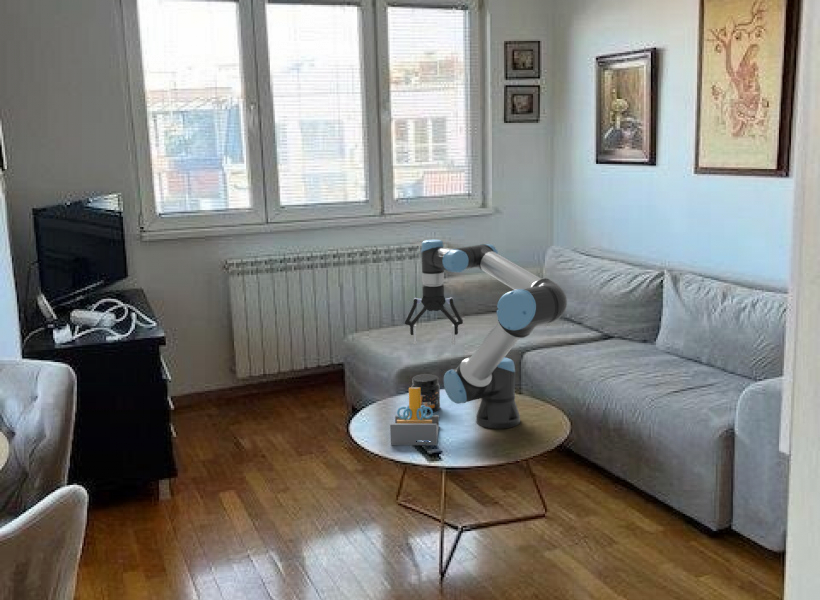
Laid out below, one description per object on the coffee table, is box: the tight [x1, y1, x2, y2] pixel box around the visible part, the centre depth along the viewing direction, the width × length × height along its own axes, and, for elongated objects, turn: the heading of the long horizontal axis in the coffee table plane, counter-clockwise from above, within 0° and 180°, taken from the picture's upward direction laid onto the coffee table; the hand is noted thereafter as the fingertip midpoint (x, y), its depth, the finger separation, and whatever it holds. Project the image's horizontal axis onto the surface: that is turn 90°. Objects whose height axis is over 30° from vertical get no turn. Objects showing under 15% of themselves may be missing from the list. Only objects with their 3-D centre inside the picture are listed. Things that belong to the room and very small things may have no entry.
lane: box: [389, 414, 440, 446], centre depth 283 cm, size 15×18×7 cm
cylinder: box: [396, 386, 434, 420], centre depth 285 cm, size 12×10×15 cm
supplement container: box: [410, 373, 441, 414], centre depth 309 cm, size 10×10×12 cm
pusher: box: [397, 420, 432, 423], centre depth 280 cm, size 12×1×6 cm, turn 86°
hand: (434, 343), depth 297 cm, fingers open, 13 cm apart
